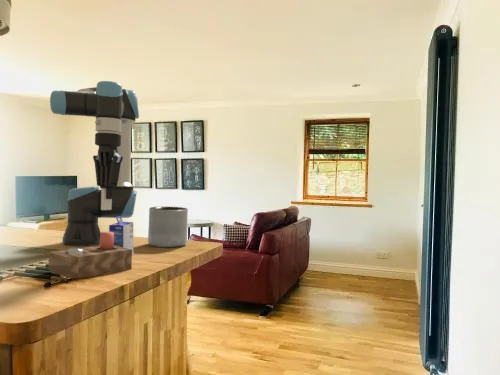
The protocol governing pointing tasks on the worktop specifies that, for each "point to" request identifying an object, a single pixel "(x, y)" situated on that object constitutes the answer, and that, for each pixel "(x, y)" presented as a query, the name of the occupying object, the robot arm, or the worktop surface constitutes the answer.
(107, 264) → the walnut block
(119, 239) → the ink cartridge box
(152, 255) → the worktop surface
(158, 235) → the planter
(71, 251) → the grey plug
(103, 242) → the red plug
